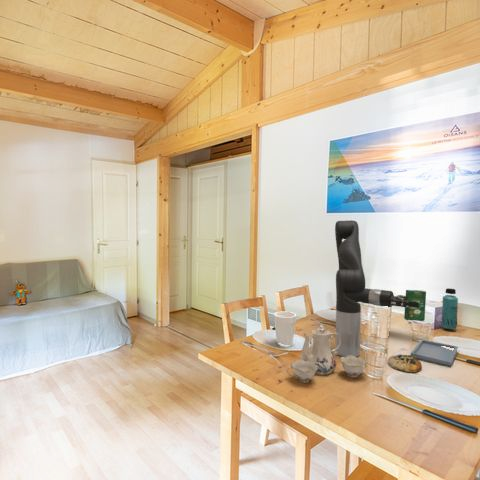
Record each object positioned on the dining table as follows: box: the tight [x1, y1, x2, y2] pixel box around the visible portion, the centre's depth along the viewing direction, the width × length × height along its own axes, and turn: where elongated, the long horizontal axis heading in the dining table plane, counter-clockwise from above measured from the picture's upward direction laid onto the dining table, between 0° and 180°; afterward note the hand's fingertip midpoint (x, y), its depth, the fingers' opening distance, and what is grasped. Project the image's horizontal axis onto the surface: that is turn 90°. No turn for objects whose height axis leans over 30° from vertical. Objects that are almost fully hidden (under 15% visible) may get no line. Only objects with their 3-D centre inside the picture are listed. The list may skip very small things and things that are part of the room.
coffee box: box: [403, 289, 427, 322], centre depth 144 cm, size 8×3×13 cm, turn 93°
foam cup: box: [273, 310, 297, 345], centre depth 139 cm, size 10×9×13 cm
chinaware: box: [286, 323, 367, 384], centre depth 113 cm, size 28×17×17 cm, turn 107°
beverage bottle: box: [441, 288, 459, 330], centre depth 158 cm, size 6×7×20 cm
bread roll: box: [386, 354, 423, 374], centre depth 119 cm, size 11×11×5 cm
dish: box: [410, 339, 459, 369], centre depth 129 cm, size 19×13×2 cm
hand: (420, 303), depth 143 cm, fingers closed on coffee box, 7 cm apart
